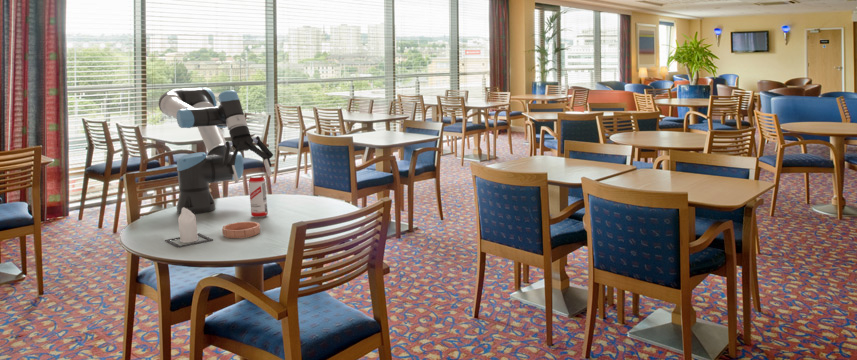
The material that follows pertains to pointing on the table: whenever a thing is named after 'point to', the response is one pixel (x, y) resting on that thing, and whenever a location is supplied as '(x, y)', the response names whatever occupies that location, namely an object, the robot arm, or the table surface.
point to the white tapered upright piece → (187, 226)
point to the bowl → (241, 230)
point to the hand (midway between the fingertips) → (253, 178)
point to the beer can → (258, 196)
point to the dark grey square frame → (189, 243)
